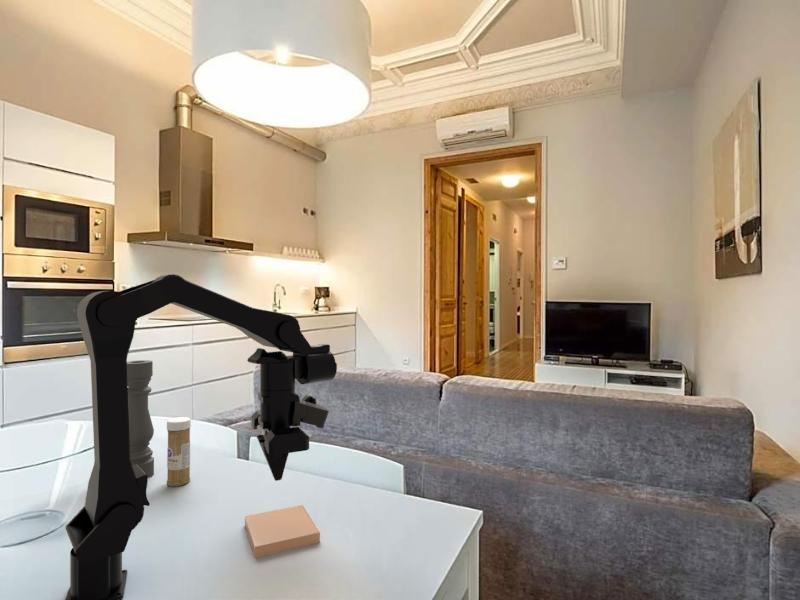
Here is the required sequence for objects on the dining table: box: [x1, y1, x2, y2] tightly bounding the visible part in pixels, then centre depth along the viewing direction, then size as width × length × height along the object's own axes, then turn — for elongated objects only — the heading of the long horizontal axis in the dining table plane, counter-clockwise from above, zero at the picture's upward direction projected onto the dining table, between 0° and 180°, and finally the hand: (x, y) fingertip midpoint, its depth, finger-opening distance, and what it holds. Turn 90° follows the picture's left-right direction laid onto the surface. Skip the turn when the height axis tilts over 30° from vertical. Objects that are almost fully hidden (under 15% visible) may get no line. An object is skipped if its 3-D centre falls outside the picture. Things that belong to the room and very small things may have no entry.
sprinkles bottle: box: [166, 416, 192, 487], centre depth 98 cm, size 5×5×14 cm
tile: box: [244, 504, 321, 558], centre depth 76 cm, size 2×10×11 cm
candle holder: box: [127, 359, 155, 479], centre depth 101 cm, size 6×6×25 cm
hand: (277, 479), depth 79 cm, fingers closed
